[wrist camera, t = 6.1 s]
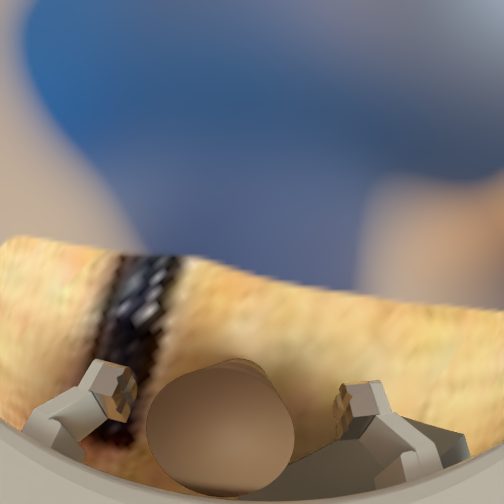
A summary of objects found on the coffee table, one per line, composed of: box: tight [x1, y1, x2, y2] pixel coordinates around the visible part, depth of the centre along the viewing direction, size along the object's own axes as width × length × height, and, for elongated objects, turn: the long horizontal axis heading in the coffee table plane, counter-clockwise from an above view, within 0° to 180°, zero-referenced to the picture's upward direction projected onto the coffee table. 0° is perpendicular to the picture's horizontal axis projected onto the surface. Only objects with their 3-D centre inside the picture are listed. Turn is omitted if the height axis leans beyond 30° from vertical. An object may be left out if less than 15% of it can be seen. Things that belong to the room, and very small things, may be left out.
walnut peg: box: [146, 359, 295, 497], centre depth 10 cm, size 4×4×10 cm
